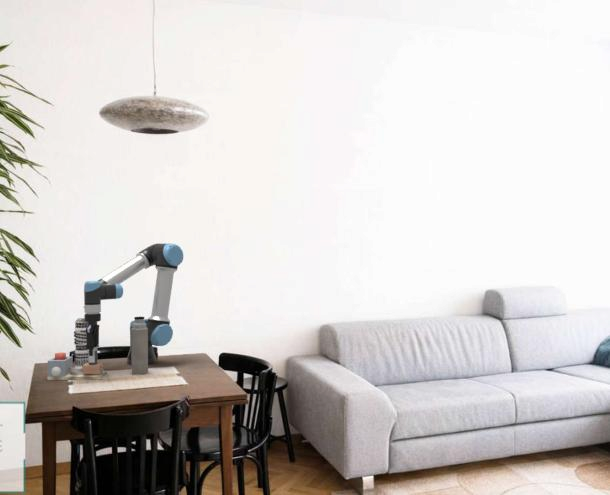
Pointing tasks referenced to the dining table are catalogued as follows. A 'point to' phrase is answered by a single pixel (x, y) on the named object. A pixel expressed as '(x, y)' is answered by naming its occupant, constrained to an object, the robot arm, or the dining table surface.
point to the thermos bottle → (139, 346)
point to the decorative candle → (80, 343)
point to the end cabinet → (59, 367)
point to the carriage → (92, 367)
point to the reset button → (60, 356)
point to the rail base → (80, 375)
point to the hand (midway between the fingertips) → (93, 361)
